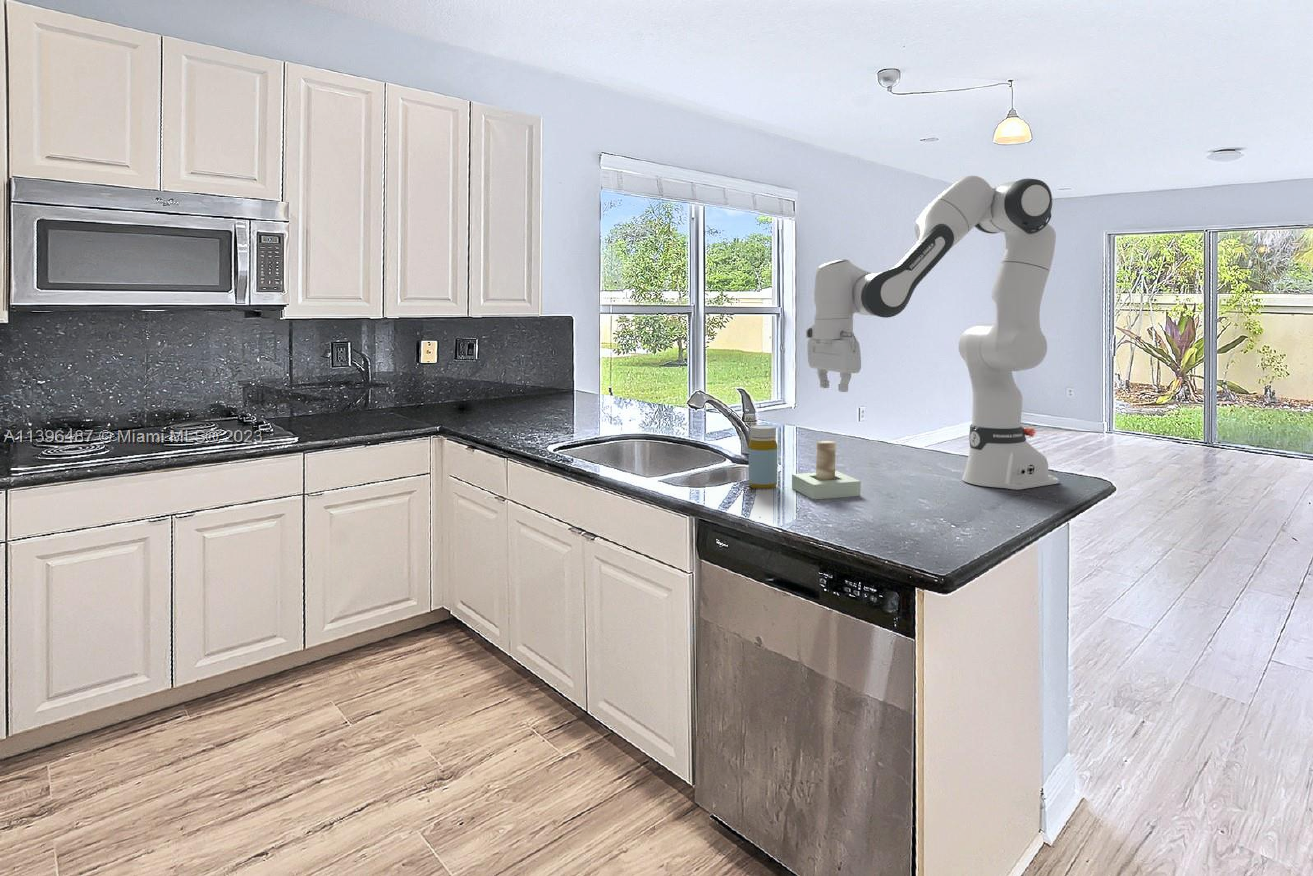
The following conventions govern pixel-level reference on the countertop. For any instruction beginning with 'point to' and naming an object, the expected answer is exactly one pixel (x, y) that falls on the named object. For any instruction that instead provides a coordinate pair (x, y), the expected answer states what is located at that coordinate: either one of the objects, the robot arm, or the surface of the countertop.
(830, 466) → the peg
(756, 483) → the bottle
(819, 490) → the socket
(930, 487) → the countertop surface
